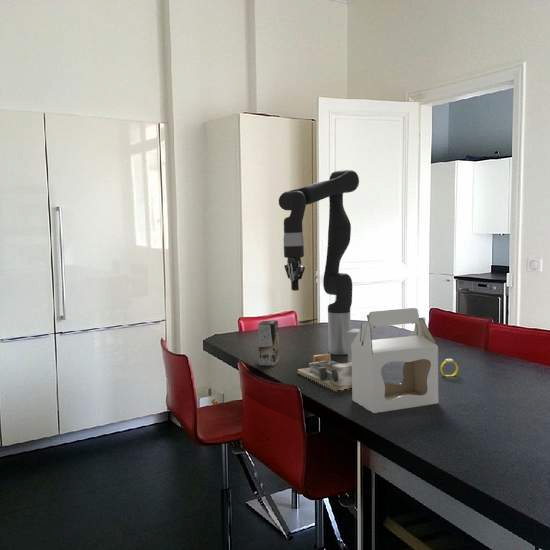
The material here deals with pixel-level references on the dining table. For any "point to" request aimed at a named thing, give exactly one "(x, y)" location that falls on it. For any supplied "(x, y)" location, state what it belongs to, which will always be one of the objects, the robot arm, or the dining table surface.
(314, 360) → the gauge plunger
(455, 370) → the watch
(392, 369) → the dining table surface
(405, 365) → the gable box
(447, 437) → the dining table surface
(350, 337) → the supplement box
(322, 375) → the gauge marker
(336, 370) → the gauge frame
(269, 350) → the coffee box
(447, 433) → the dining table surface
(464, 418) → the dining table surface
